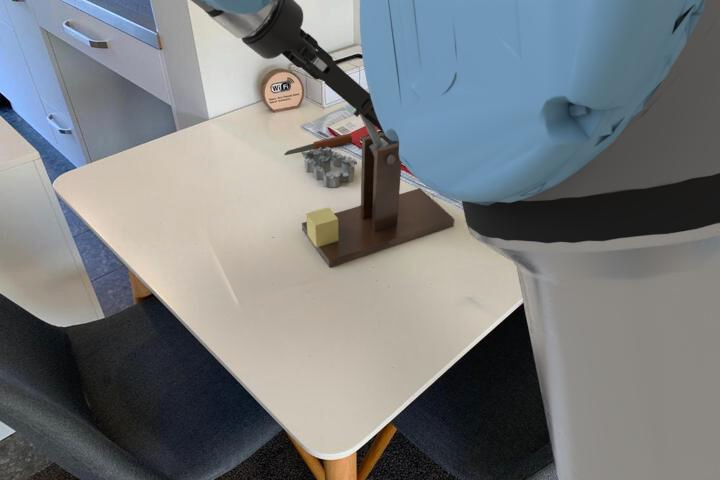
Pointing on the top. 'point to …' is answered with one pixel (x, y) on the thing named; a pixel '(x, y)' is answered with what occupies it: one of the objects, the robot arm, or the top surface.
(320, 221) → the butter
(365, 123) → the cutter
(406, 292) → the top surface
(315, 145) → the kitchen knife
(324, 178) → the egg carton
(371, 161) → the lever base
